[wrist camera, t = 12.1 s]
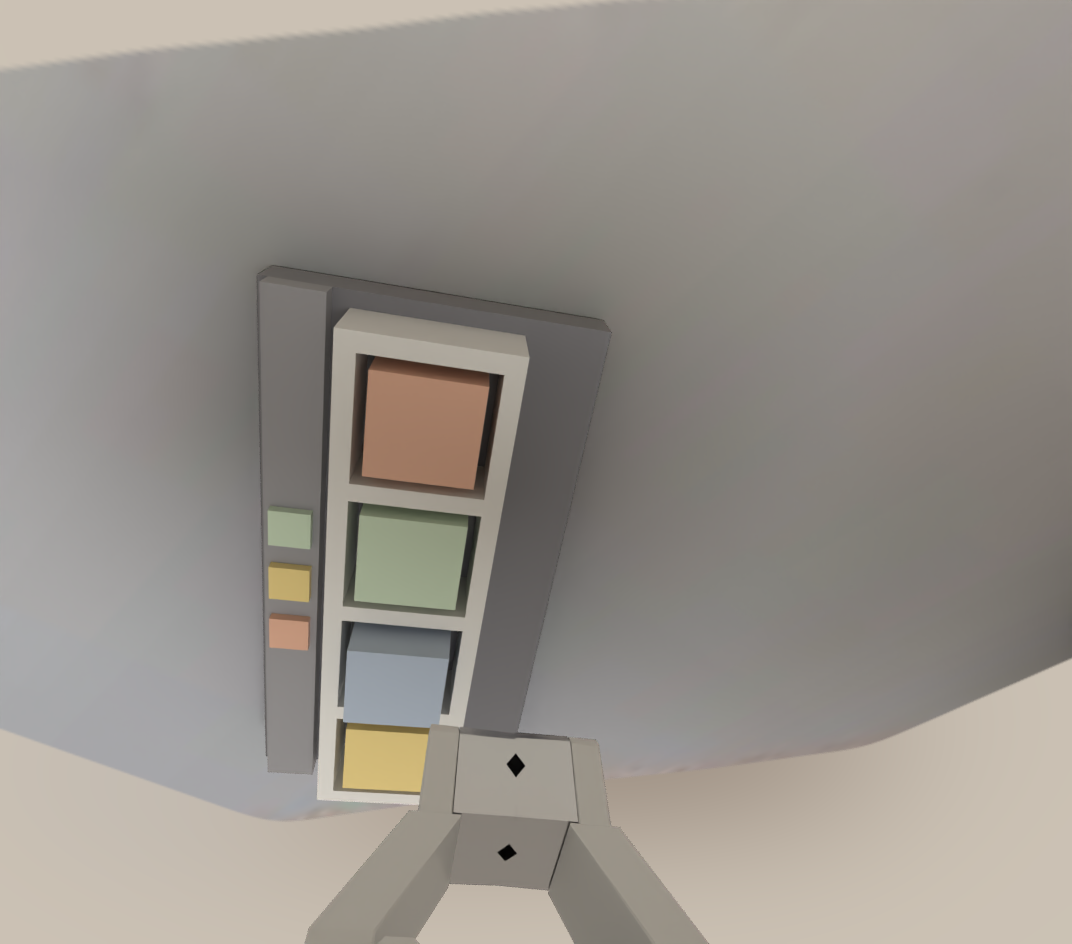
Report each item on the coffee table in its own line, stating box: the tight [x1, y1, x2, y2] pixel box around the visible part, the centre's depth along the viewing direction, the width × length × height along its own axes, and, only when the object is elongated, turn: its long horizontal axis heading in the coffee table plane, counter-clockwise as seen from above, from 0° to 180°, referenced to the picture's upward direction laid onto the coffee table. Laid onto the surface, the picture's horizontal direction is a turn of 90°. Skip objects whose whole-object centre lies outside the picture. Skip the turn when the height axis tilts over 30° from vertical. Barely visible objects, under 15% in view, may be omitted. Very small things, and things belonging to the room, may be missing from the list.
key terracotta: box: [362, 356, 489, 490], centre depth 25 cm, size 4×4×2 cm
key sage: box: [354, 503, 468, 610], centre depth 28 cm, size 4×4×2 cm
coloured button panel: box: [257, 266, 612, 805], centre depth 31 cm, size 14×27×5 cm, turn 170°
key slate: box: [343, 622, 451, 728], centre depth 30 cm, size 4×4×2 cm
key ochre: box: [342, 723, 430, 792], centre depth 33 cm, size 4×4×2 cm
